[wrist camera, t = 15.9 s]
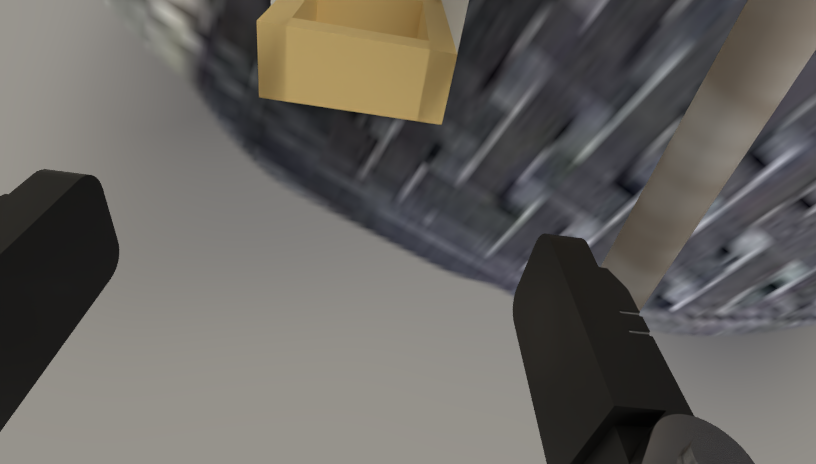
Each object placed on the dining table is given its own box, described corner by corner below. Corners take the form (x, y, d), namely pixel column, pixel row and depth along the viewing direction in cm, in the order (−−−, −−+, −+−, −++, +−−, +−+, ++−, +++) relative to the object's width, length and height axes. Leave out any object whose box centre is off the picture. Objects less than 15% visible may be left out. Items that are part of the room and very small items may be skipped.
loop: (441, 0, 22) (457, 54, 15) (430, 54, 23) (441, 124, 17) (300, -26, 21) (256, 20, 15) (299, 32, 22) (259, 97, 16)
